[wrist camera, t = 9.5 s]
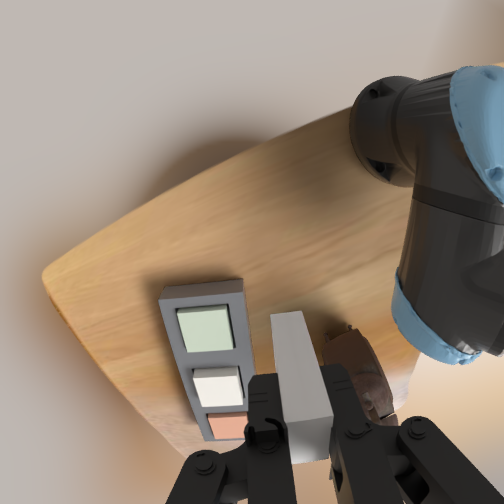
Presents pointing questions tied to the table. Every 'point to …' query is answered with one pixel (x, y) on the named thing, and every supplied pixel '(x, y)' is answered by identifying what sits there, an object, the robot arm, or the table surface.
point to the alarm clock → (362, 374)
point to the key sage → (206, 327)
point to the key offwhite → (218, 386)
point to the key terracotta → (228, 424)
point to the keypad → (189, 361)
